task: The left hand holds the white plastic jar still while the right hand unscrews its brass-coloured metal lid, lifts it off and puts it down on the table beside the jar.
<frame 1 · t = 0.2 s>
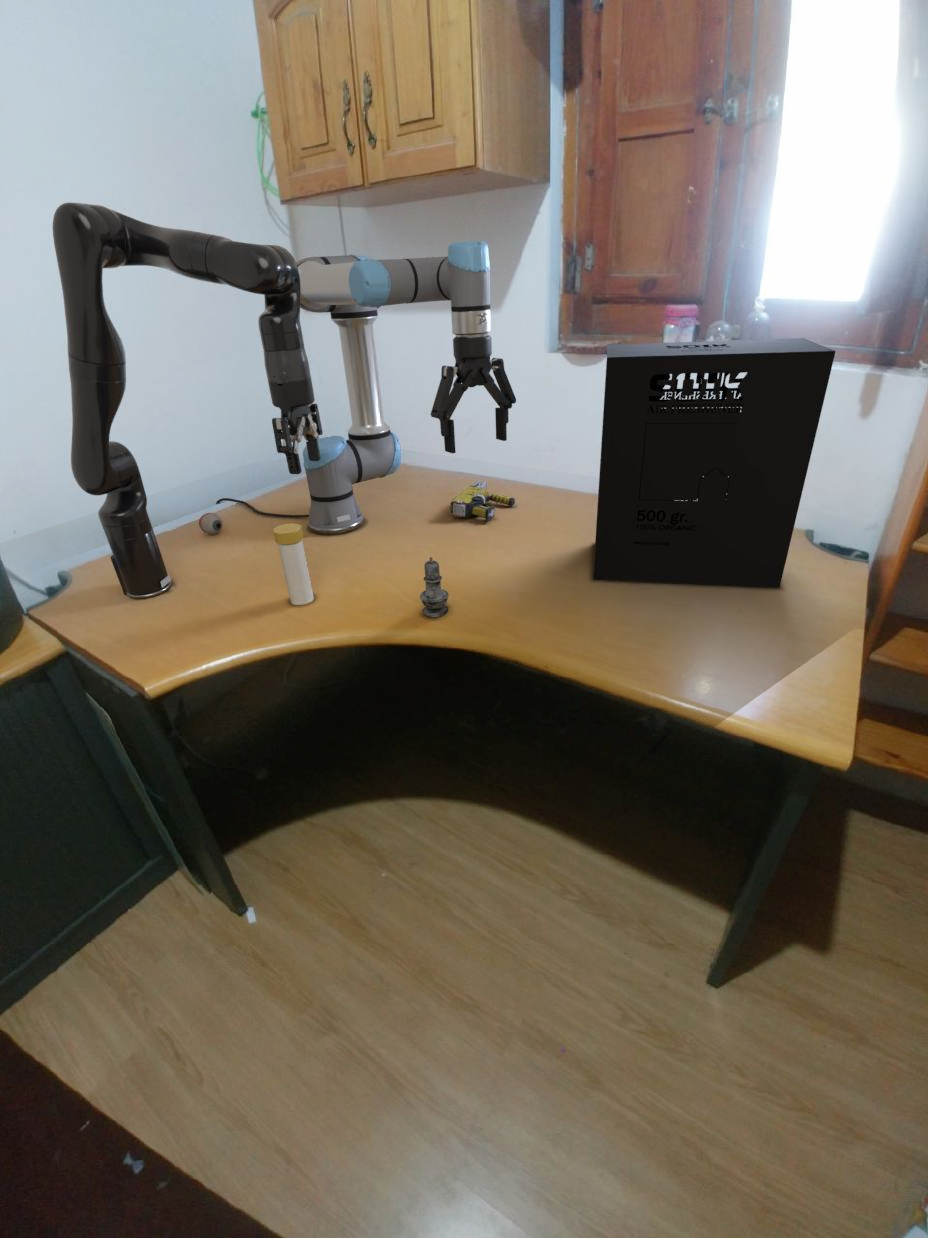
left hand: (305, 466, 115), 29 cm above the table, tool pointing down, fingers open, 8 cm apart
right hand: (476, 445, 127), 28 cm above the table, tool pointing down, fingers open, 13 cm apart
cardboard box: (678, 564, 137), on the table
lid: (287, 529, 123), point 16 cm above the table, screwed on, not yet turned
toy gun: (487, 508, 175), on the table
jar: (302, 599, 131), on the table
eyeball: (214, 534, 168), on the table
dark grey tall piece: (435, 611, 124), on the table
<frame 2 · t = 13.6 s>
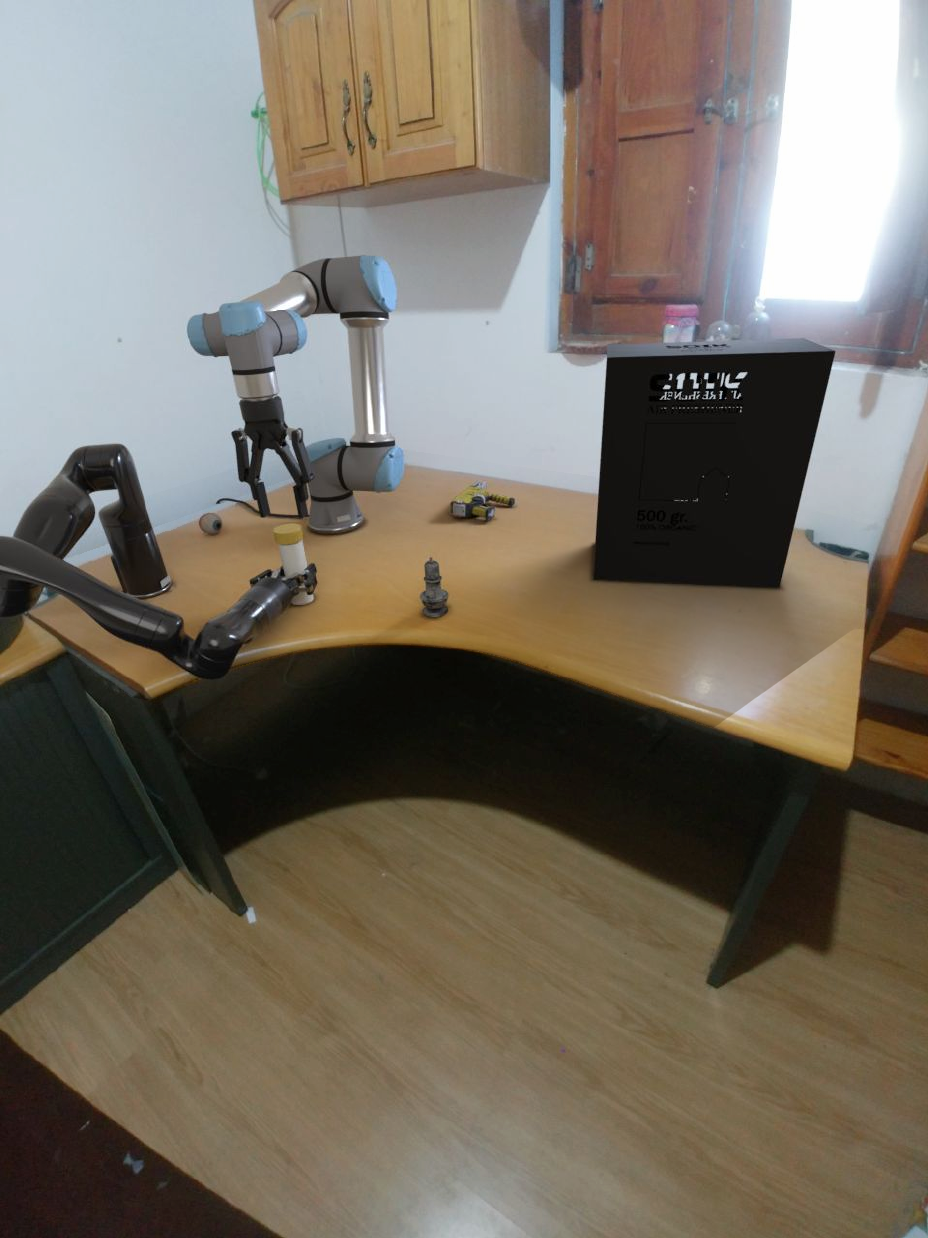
left hand: (302, 566, 130), 7 cm above the table, tool horizontal, fingers closed on jar, 5 cm apart
right hand: (284, 515, 121), 19 cm above the table, tool pointing down, fingers open, 8 cm apart
jar: (302, 599, 131), on the table, touching left hand
everything else where it was.
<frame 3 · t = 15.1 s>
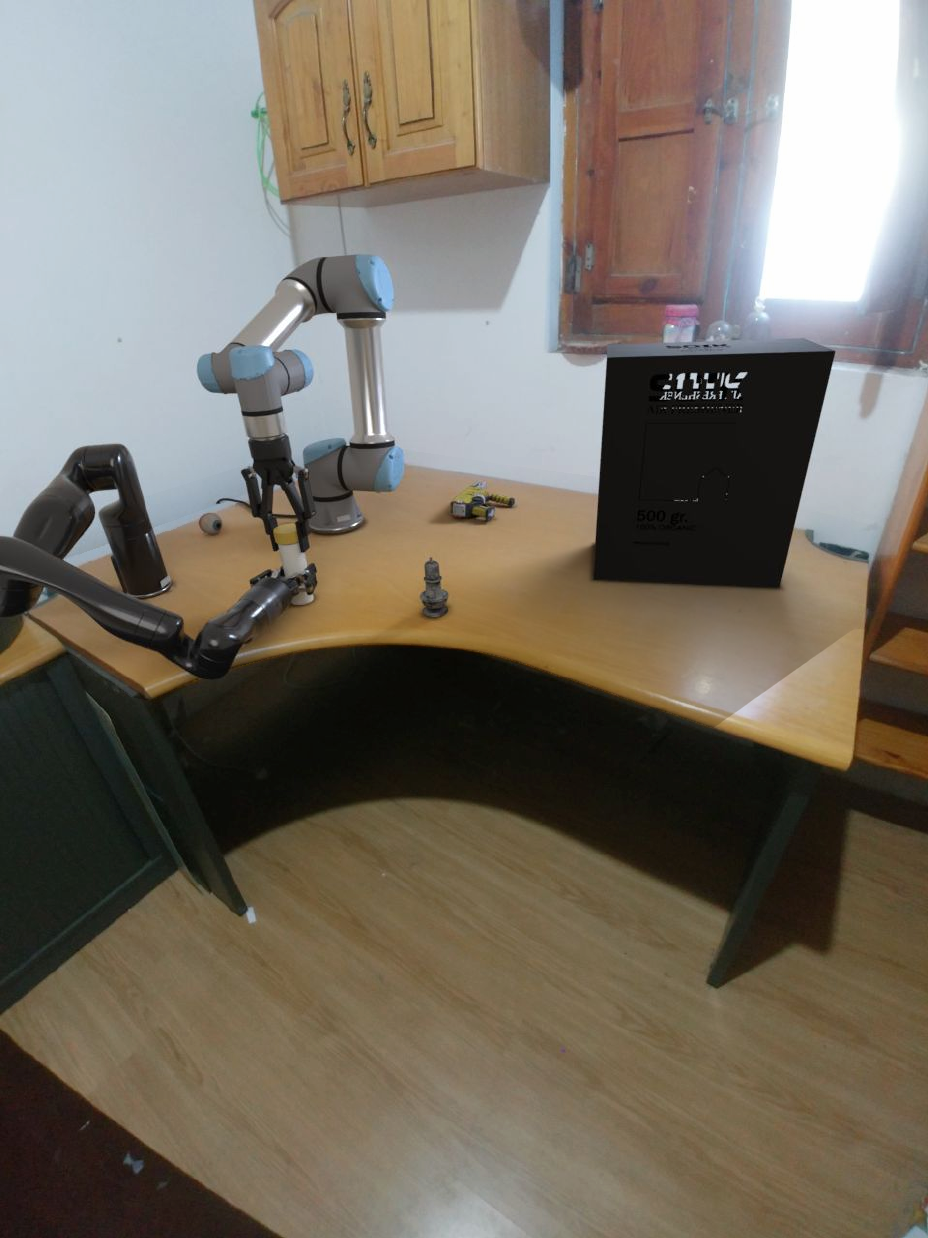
left hand: (301, 566, 130), 7 cm above the table, tool horizontal, fingers closed on jar, 5 cm apart
right hand: (291, 549, 125), 12 cm above the table, tool pointing down, fingers closed on lid, 5 cm apart
lid: (287, 530, 123), point 16 cm above the table, screwed on, not yet turned, touching right hand
jar: (302, 599, 131), on the table, touching left hand
everything else where it was.
when the right hand's fingers open (12 cm above the table, at t = 16.6 s): lid stays where it is, point 17 cm above the table.
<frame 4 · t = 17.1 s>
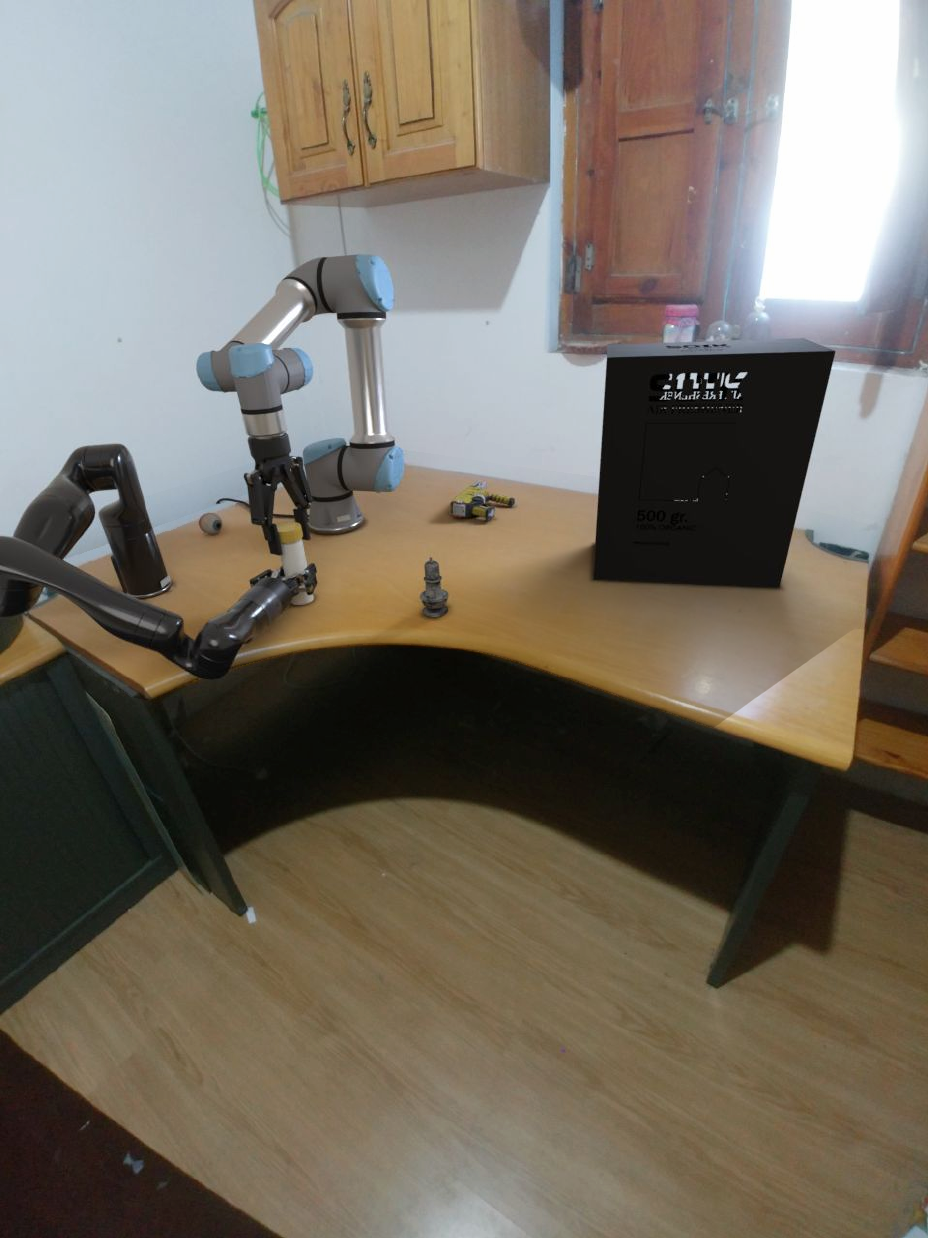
left hand: (301, 566, 130), 7 cm above the table, tool horizontal, fingers closed on jar, 5 cm apart
right hand: (290, 546, 125), 13 cm above the table, tool pointing down, fingers open, 8 cm apart
lid: (287, 528, 123), point 17 cm above the table, turned 109° so far, risen 0.3 cm, still on its thread
jar: (302, 599, 131), on the table, touching left hand
everything else where it was.
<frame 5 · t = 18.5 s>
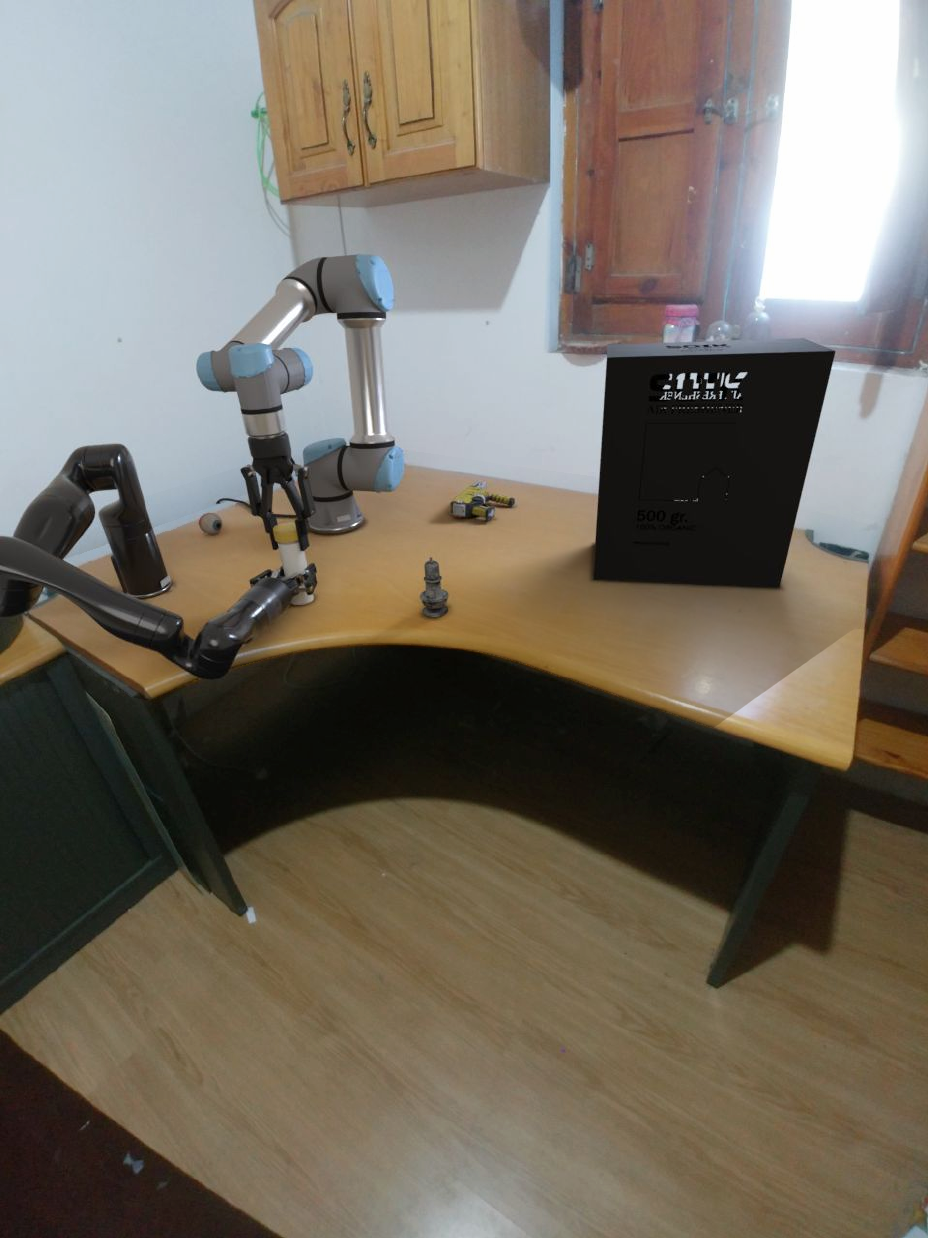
left hand: (301, 566, 130), 7 cm above the table, tool horizontal, fingers closed on jar, 5 cm apart
right hand: (291, 547, 125), 12 cm above the table, tool pointing down, fingers closed on lid, 5 cm apart
lid: (287, 528, 123), point 17 cm above the table, turned 109° so far, risen 0.3 cm, still on its thread, touching right hand
jar: (302, 599, 131), on the table, touching left hand
everything else where it was.
when the right hand's fingers open (0 cm above the table, at t = 25.6 s): lid drops 2 cm, point 2 cm above the table.
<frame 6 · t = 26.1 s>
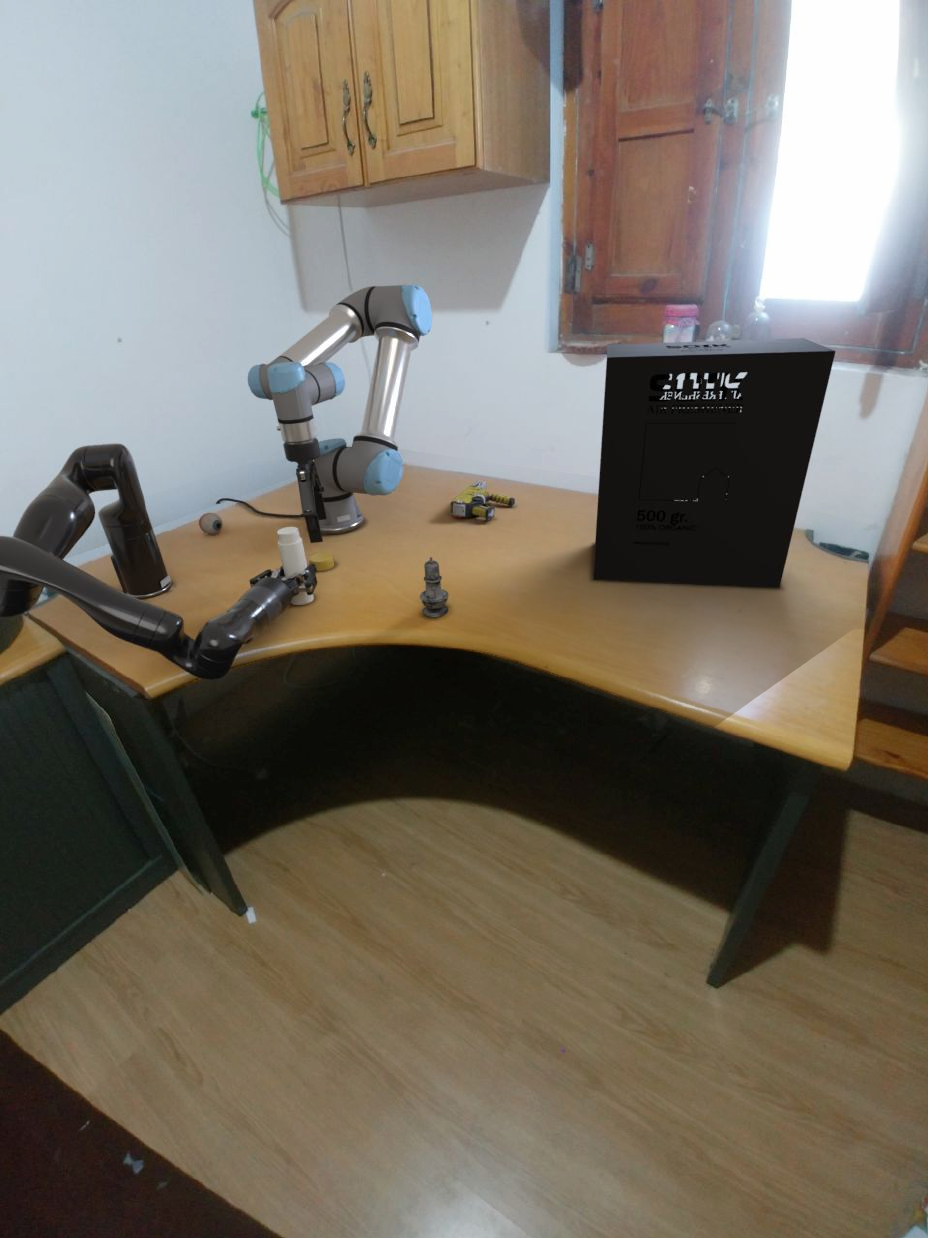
left hand: (301, 566, 130), 7 cm above the table, tool horizontal, fingers closed on jar, 5 cm apart
right hand: (319, 530, 142), 9 cm above the table, tool pointing down, fingers open, 13 cm apart
lid: (321, 558, 145), point 2 cm above the table, off its thread
jar: (302, 599, 131), on the table, touching left hand
everything else where it was.
when the left hand's fingers open (7 cm above the table, at t = 26.3 s): jar stays where it is, on the table.
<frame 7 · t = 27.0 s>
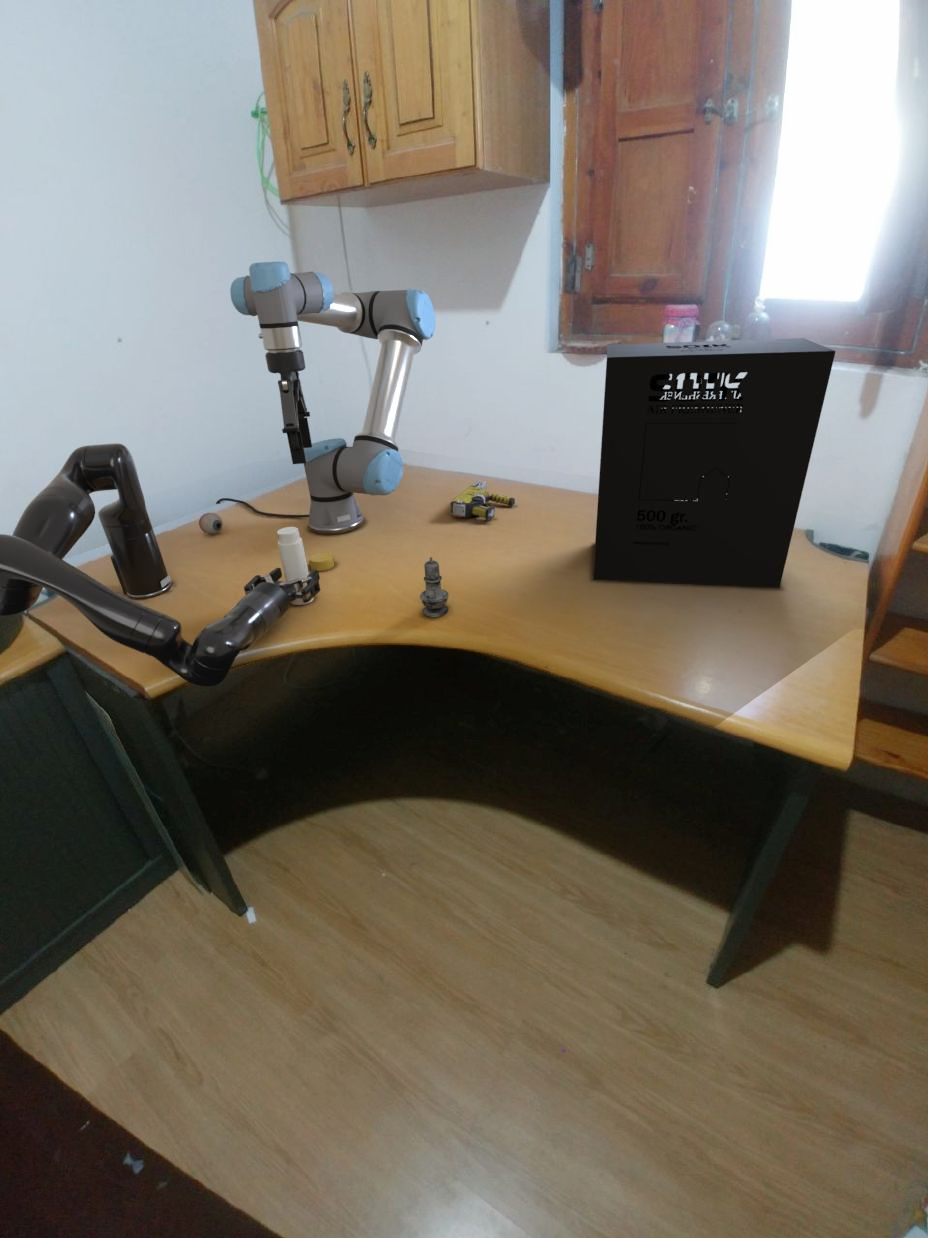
left hand: (298, 572, 128), 6 cm above the table, tool horizontal, fingers open, 8 cm apart
right hand: (303, 455, 133), 27 cm above the table, tool pointing down, fingers open, 13 cm apart
jar: (302, 599, 131), on the table
everything else where it was.
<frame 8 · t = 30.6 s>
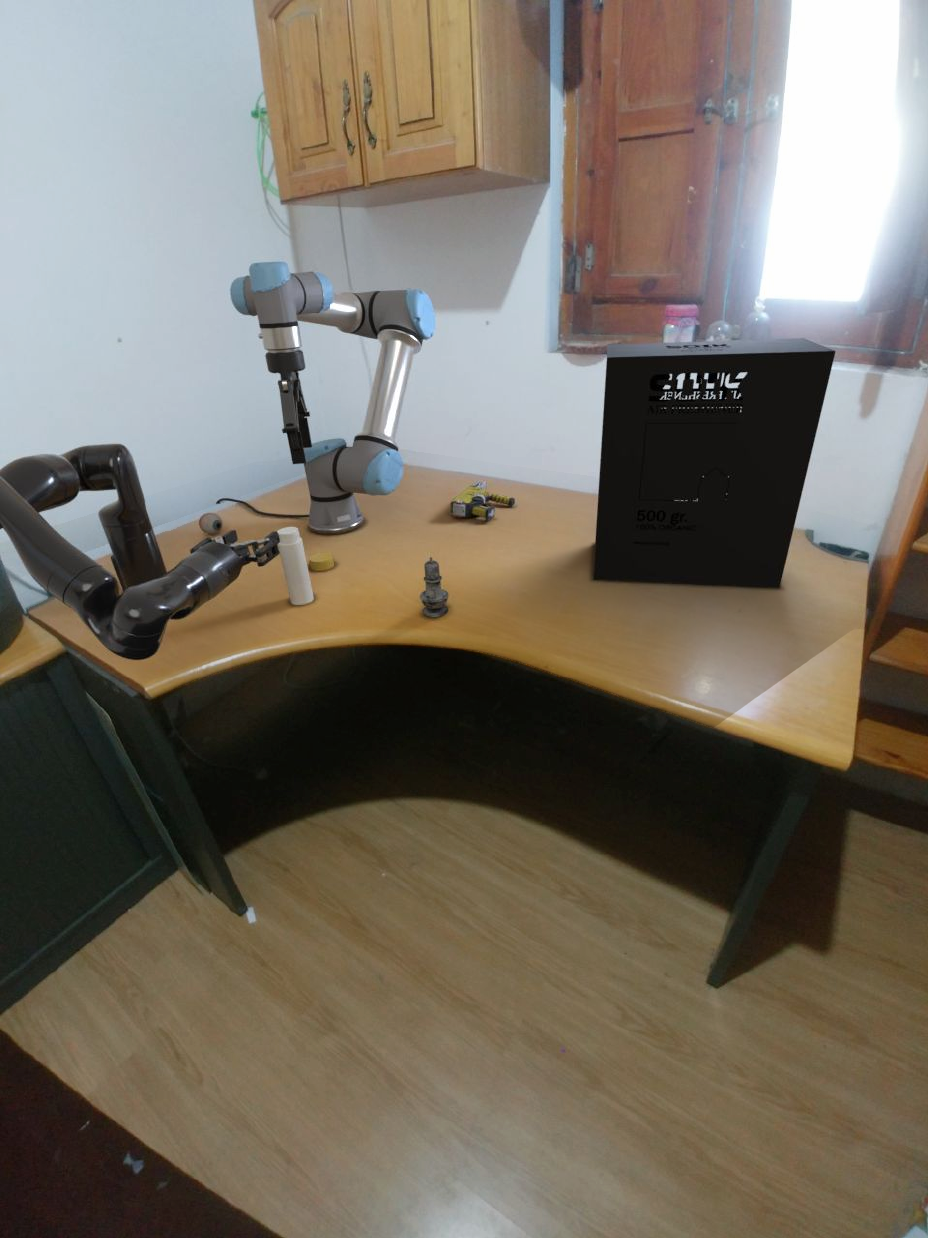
left hand: (255, 535, 112), 20 cm above the table, tool horizontal, fingers open, 8 cm apart
right hand: (302, 455, 133), 27 cm above the table, tool pointing down, fingers open, 13 cm apart
nothing on the table moved.
at the end: lid came off its thread; lid point 2.1 cm above the table; the left hand is holding nothing; the right hand is holding nothing; jar tilted 0°; jar moved 0.0 cm from its start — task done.
